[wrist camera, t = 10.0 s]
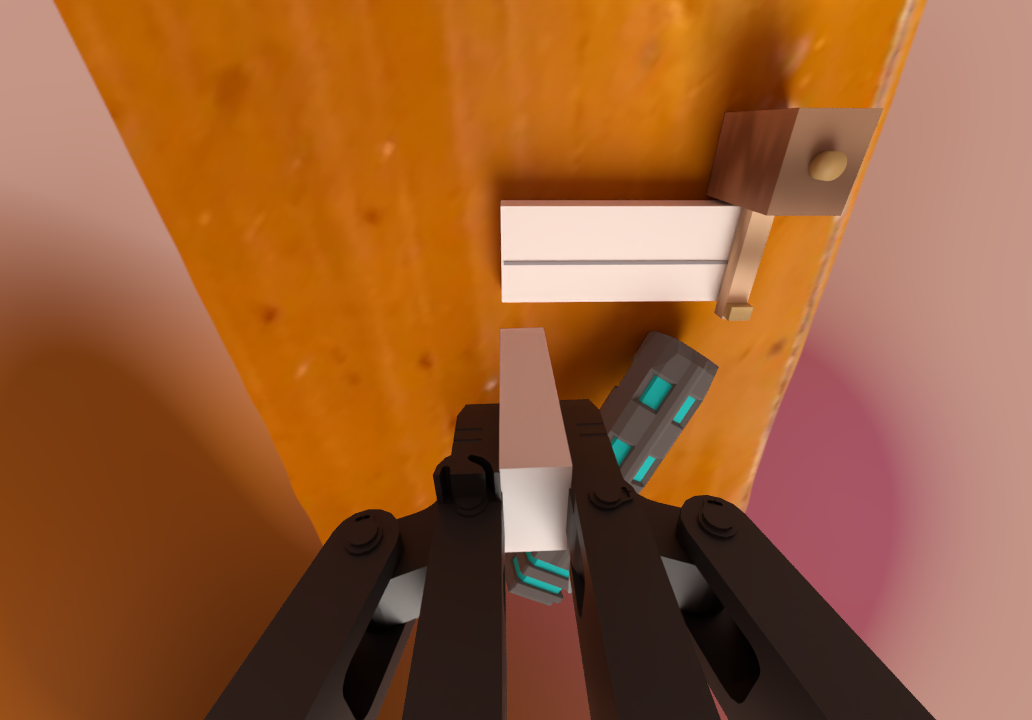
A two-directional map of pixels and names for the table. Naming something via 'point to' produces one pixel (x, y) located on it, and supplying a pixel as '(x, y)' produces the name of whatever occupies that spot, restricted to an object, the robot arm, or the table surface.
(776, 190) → the brown wooden clamp
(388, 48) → the table surface
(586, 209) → the board
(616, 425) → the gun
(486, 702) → the robot arm
